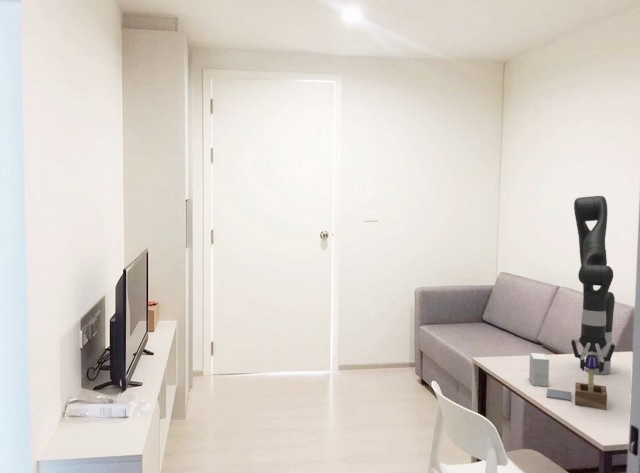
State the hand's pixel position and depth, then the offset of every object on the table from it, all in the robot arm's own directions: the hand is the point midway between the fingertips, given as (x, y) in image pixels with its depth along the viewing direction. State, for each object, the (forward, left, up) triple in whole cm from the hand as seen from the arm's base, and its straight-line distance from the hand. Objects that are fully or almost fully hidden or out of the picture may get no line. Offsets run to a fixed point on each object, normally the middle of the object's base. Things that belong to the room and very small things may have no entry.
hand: (591, 370), depth 188 cm
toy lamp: (0, 0, -12) cm, 12 cm away
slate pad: (-3, -10, -11) cm, 15 cm away
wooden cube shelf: (0, 0, -11) cm, 11 cm away
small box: (-14, -17, -12) cm, 25 cm away
